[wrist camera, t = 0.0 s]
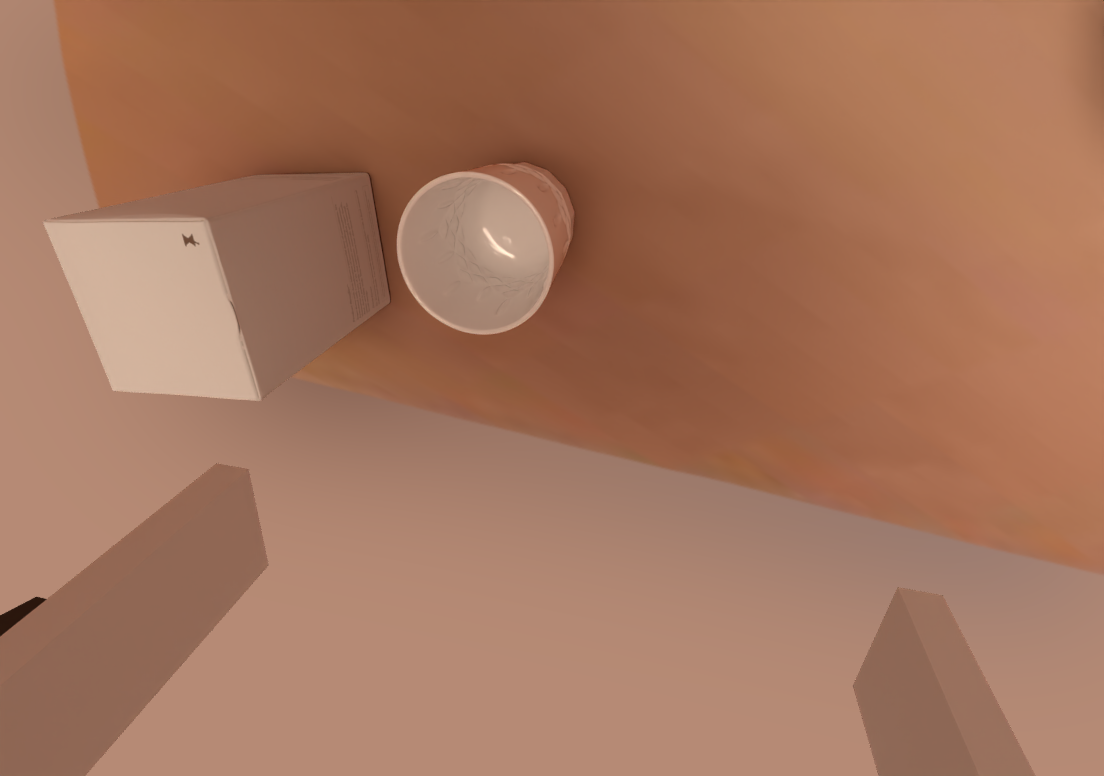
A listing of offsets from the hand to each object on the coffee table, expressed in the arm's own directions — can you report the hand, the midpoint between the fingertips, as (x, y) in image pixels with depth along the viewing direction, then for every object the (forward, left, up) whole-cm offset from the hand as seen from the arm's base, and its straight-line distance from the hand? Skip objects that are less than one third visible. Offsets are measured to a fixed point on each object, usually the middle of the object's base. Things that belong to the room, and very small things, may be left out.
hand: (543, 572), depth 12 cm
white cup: (-1, -7, -28) cm, 29 cm away
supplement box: (+2, -21, -28) cm, 35 cm away
